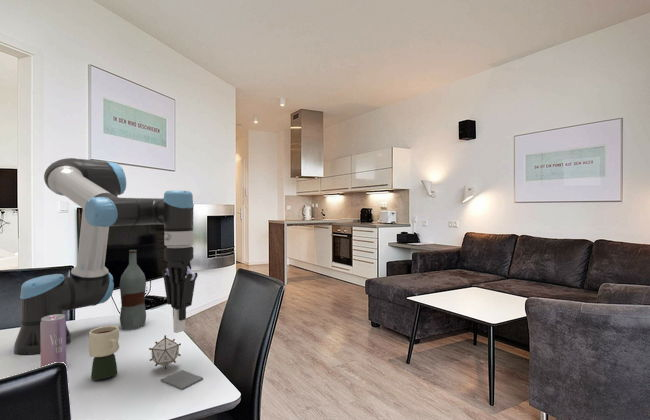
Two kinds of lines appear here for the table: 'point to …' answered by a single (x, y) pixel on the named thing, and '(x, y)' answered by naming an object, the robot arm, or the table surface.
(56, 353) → the beverage can
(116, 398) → the table surface
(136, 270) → the bottle
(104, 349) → the character mug
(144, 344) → the table surface
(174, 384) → the grey rubber mat
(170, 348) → the game die
